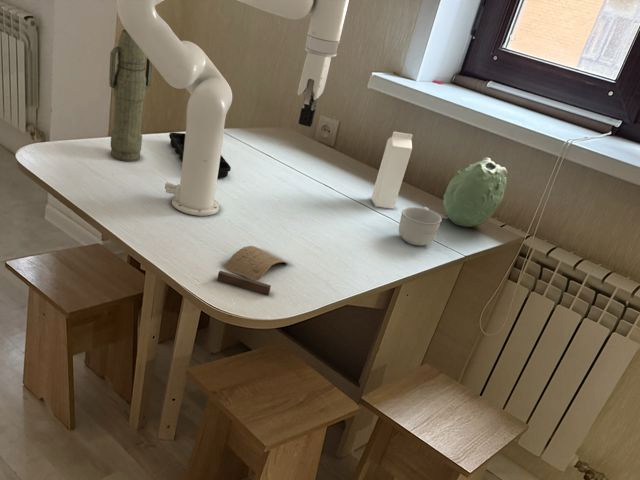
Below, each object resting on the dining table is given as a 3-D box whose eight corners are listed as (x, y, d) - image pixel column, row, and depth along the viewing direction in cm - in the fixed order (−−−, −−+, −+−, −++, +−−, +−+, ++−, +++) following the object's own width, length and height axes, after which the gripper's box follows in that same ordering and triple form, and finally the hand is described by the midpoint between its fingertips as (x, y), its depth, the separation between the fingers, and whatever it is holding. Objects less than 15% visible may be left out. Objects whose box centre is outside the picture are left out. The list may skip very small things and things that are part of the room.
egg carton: (200, 142, 225) (201, 131, 223) (246, 178, 205) (248, 166, 203) (151, 144, 216) (152, 132, 214) (194, 181, 196) (196, 169, 194)
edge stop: (217, 280, 151) (218, 272, 150) (218, 278, 152) (220, 270, 151) (268, 295, 150) (269, 287, 149) (269, 293, 151) (271, 285, 150)
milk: (393, 209, 206) (416, 138, 194) (374, 206, 205) (396, 134, 193) (389, 201, 211) (410, 131, 199) (370, 198, 210) (390, 128, 198)
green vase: (424, 218, 204) (446, 154, 193) (458, 209, 216) (480, 148, 205) (467, 241, 196) (493, 175, 184) (500, 230, 208) (526, 167, 196)
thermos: (150, 160, 204) (160, 35, 184) (115, 163, 197) (122, 34, 178) (135, 149, 209) (144, 27, 190) (100, 152, 202) (106, 25, 183)
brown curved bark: (257, 283, 153) (259, 273, 152) (222, 266, 157) (223, 255, 156) (291, 265, 164) (293, 255, 162) (257, 249, 168) (259, 239, 166)
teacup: (424, 253, 183) (433, 226, 179) (388, 238, 187) (396, 212, 183) (441, 239, 194) (450, 213, 189) (406, 225, 197) (415, 199, 193)
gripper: (312, 37, 164) (297, 114, 174) (299, 46, 151) (283, 128, 162) (342, 45, 163) (325, 121, 173) (331, 54, 150) (313, 136, 161)
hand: (305, 124), depth 167 cm, fingers closed
